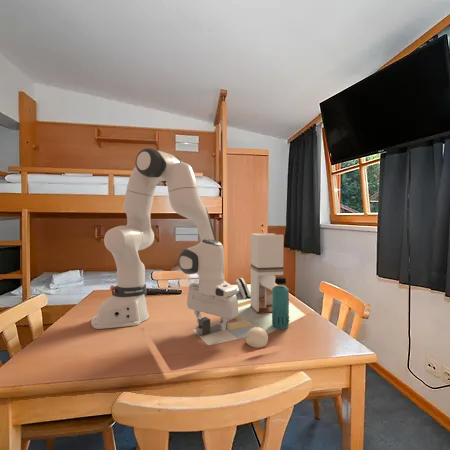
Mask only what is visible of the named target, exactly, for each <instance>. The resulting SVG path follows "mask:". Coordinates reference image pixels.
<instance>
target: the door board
mask: <svg viewBox="0 0 450 450" xmlns="http://www.w3.org/2000/svg"><path fill="white" fill-rule="evenodd" d="M223 321H224V320H222V317H220V323H223ZM253 327H255V326H254V325H253V324H252V323H250V322H248V321H246V320H245V319H243V320H238V321H231V322H227V324H226V329H225V330H220V331H216V332H213V333H210V334H206V335H201V336H200V335H198V334H197V333H196V328H194V329H192V332H194V333H195V334H196V335H197V336H198V337H199V339H200V340H202V341H203V342H204V343H205V344H206V345H207V346H213V345H218V344H223V343H226V342H227V343H228V342H231V341H237V340H240V339H246V334H247V333H248V331H249V330H250V329H251V328H253Z"/></svg>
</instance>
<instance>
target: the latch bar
mask: <svg viewBox="0 0 450 450" xmlns="http://www.w3.org/2000/svg"><path fill="white" fill-rule="evenodd" d="M202 317H203V316H202ZM220 324H221V321H214V322H211V318H209V317H207V316H204V317H203V318H199V319H198V325H197V326H196V328H195V329H196V333H197V334H198V335H200V336H201V335H206V334H210V333H213V332H216V331H220V330H221V329H220ZM196 333H195V334H196ZM197 334H196V335H197ZM198 335H197V336H198Z"/></svg>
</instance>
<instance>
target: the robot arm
mask: <svg viewBox="0 0 450 450" xmlns="http://www.w3.org/2000/svg"><path fill="white" fill-rule="evenodd" d="M134 164H135V166H134V167H133V169H132V171H131V172H130V173H131V174H130V176H129V178H128V183H127V186H126V192H125V196H124V201H123V205H122V209H123V211H124V213H125V214H126V220H127V221H126V222H127V223H126V225H118V226H114V227H113V228H110V229H108V230H107V231H106V232H105V234H104V238H103V243H104V246H105V248H106V250H107V251H109V252H110V253H111V254H112V256H113V259H114V262H115V266H116V278H117V279H116V284H115V285H110V287H109V290H110V291H111V295H110V296H109V297H108V298H107V299H106V300H104V301H103V302H102V303H101V304H100V305H99V307H98V308H97V313H96V315H95V316H93V317H92V318H91V320H90V324H91V325H90V326H91V327H92V328H93V329H96V330H103V329H111V328H112V329H113V328H122V327H135V326H138V325H140V324H141V323H142V322H144V321H146V320H148V319H149V318H150V314H149V312H148V307H147V299H146V298H147V284H146V266H145V264H144V263H143V262H142V261H141V259H140V255H139V251H141V250H142V251H143V250H145V249H147V248H149V247H151V245H152V244H153V243H154V240H155V233H154V230H153V229H152V225H151V224H152V222H151V216H152V215H151V214H152V213H151V212H152V207H153V201H154V199H155V198H154V197H155V192H156V191H155V190H156V187H157V185H158V184H159V183H160V182H161V183H163V184H166V185H167V190H168V191H167V192H168V193H167V194H168V199H169V204H170V206H171V208H172V210H173V211H174V212H175V213H176V214H177V215H179V216H182V217H184V218H186V219H187V220H189V221H191V222H192V223H193V224H194V225H195V226H196V229H197V232H198V235H199V239H200V242H199V243H197V244H196V245H194V246H190V247H188V248H184V249H182V250H181V251H180V253H179V256H178V261H177V262H178V267H179V269H180V271H182V273H184V274H185V275H198V283H194V282H192V283H190V284H189V286H188V293H187V297H186V298H187V301H186V302H187V303H186V305H187V308H188V309H189V310H192V311H194V315H195V317H196V323H198V319H199V318H203V316H202V314H201V313H205V314H209V315H212V316H215V317H220V318H221V317H222V320H224V321H223V323H221V322H220V323H221V324H220V329H221V330H225V329H226V324H227V323H229V321H230V320H233V319H235V318H237V317H238V316H239V315H238V314H239V301H238V296H237V295H234V294H236V293H237V294H238V292H237V291H238V289H237V287H236V286H234V285H232V284H231V283H229V282H228V281H226V280H225V274H224V269H225V248H224V245H223V244H222V242H220V241H219V240H217V238H216V234H215V230H214V227H213V223H212V220H211V218H210V214H209V212H208V209H207V208H206V207H205V205H204V203H203V202H202V200H201V196H200V193H199V189H198V183H197V179H196V175H195V173H194V169H193V168H192V166H191V165H190V164H189V163H186V162H184V161H183V160H181V159H180V158H179V157H178V156H174V155H173V154H171V153H169V152H165V151H161V150H157V149H155V148H151V147H150V148H148V147H147V148H143V149H141V150H140V151H139V152H138V153H137V155H136V157H135V163H134Z"/></svg>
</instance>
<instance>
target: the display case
mask: <svg viewBox="0 0 450 450" xmlns="http://www.w3.org/2000/svg"><path fill="white" fill-rule="evenodd" d="M284 237H285V236H284V234H276V233H251V234H250V292H251V296H250V308H251V309H252V310H253V311H255V313H256V314H257V315H259V314H260V315H263V314H272V289H273V287H275V286H277V283H275V278H276V277H277V276H283V275H284V244H285V243H284V242H285V240H284Z"/></svg>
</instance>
